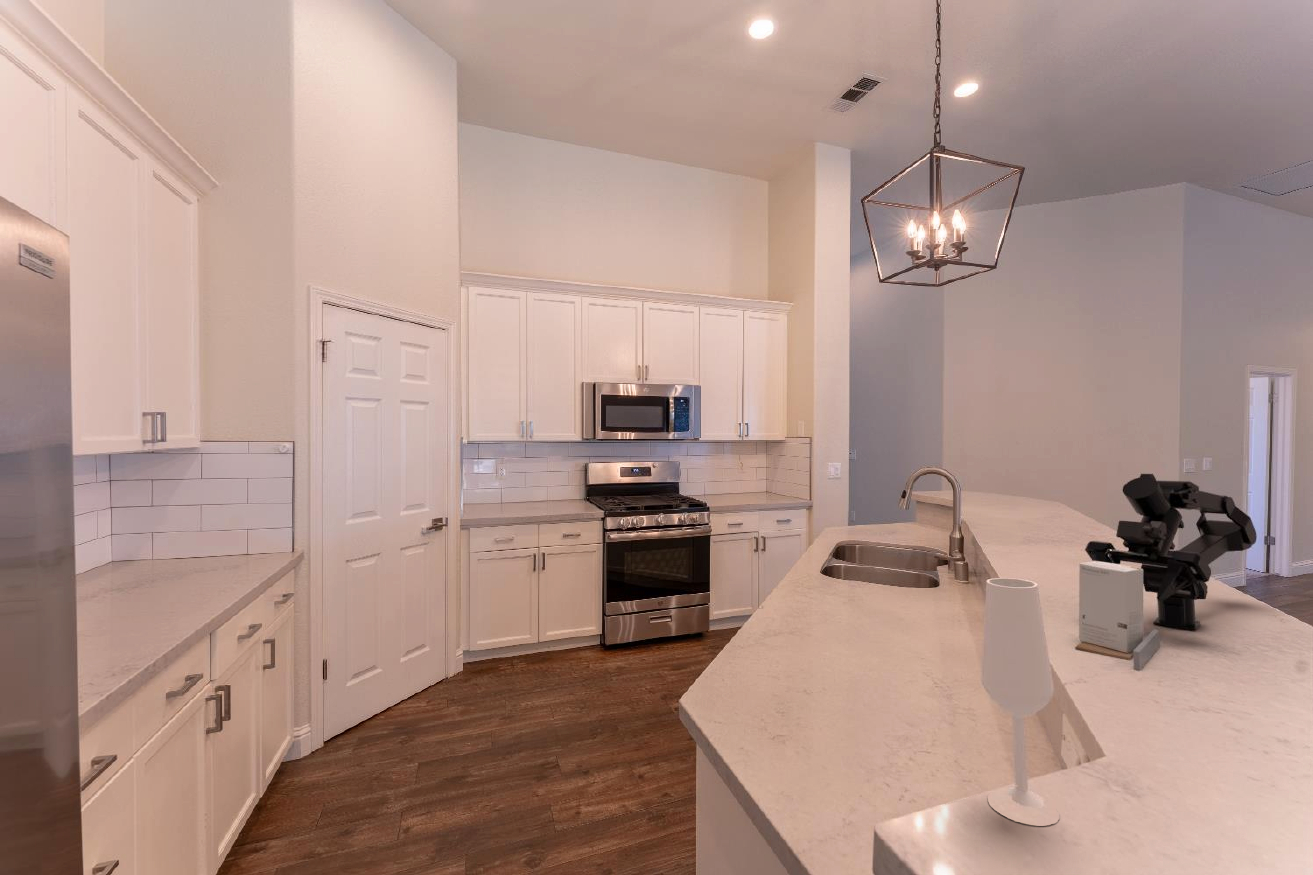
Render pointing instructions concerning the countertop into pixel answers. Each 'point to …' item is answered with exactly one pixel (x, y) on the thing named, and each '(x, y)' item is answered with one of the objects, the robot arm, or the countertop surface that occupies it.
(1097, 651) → the walnut board
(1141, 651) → the low wall
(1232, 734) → the countertop surface
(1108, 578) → the skincare box
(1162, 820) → the countertop surface
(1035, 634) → the champagne flute
